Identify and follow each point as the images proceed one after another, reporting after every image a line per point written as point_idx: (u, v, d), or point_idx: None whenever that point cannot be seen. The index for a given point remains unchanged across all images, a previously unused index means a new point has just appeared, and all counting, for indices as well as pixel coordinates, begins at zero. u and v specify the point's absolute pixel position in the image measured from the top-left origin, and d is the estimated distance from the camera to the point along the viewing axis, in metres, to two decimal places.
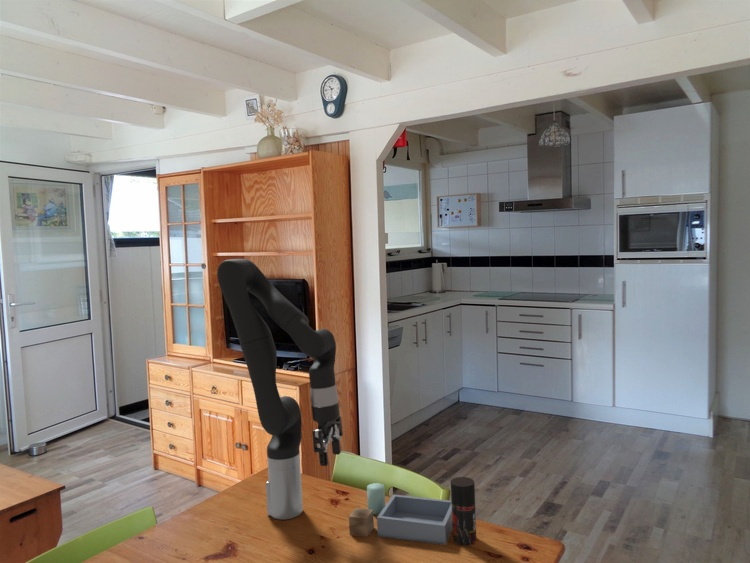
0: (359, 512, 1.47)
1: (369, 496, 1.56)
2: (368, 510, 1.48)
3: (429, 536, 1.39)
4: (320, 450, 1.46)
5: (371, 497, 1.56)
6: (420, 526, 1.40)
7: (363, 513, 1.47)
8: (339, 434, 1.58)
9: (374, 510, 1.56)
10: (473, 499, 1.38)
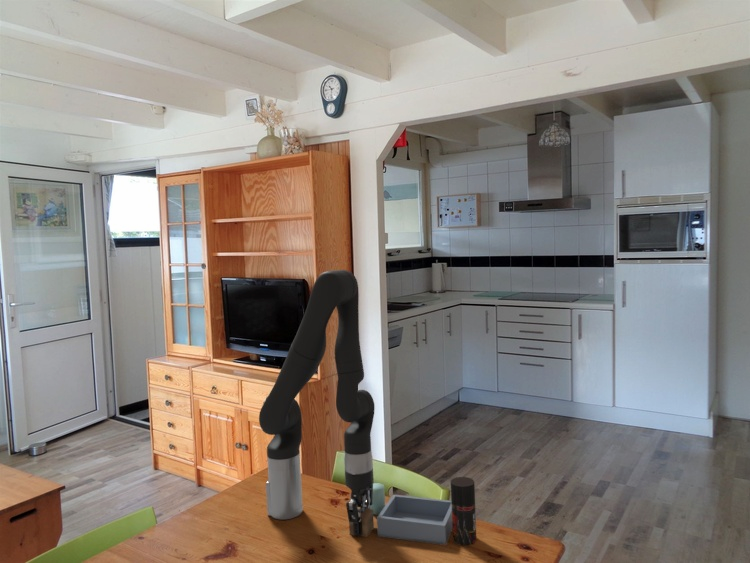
0: None
1: None
2: (368, 510, 1.48)
3: (429, 536, 1.39)
4: (355, 521, 1.41)
5: None
6: (420, 526, 1.40)
7: (363, 512, 1.47)
8: (369, 503, 1.50)
9: (374, 510, 1.56)
10: (473, 499, 1.38)
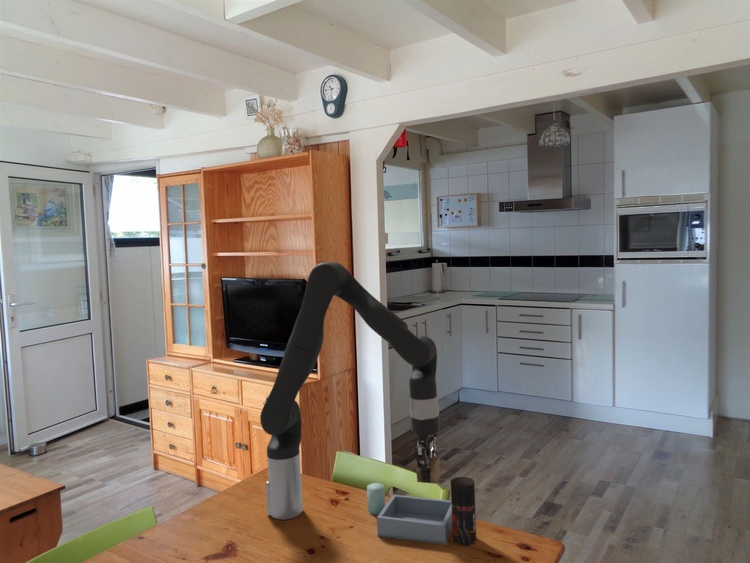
0: None
1: (369, 496, 1.56)
2: (434, 458, 1.46)
3: (429, 536, 1.39)
4: (424, 466, 1.39)
5: (371, 497, 1.56)
6: (420, 526, 1.40)
7: None
8: None
9: (374, 510, 1.56)
10: (473, 499, 1.38)
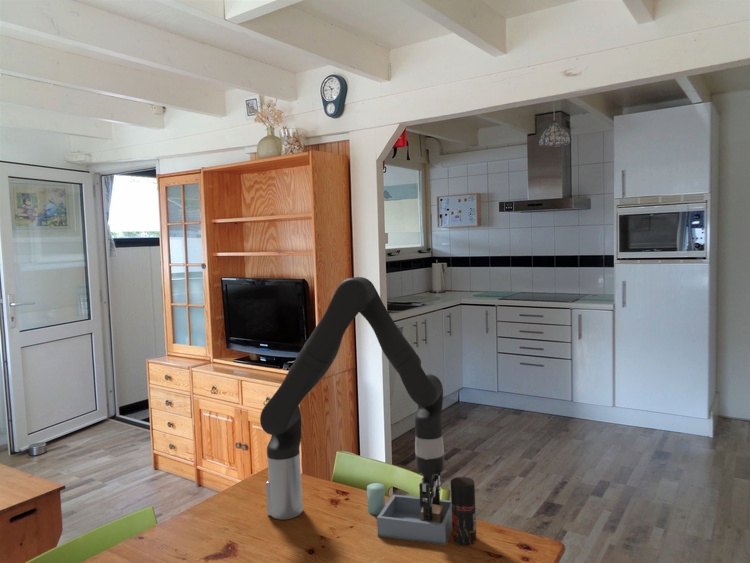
0: None
1: (369, 496, 1.56)
2: (438, 506, 1.47)
3: (429, 536, 1.39)
4: (427, 505, 1.39)
5: (371, 497, 1.56)
6: (420, 526, 1.40)
7: (434, 508, 1.46)
8: None
9: (374, 510, 1.56)
10: (473, 499, 1.38)
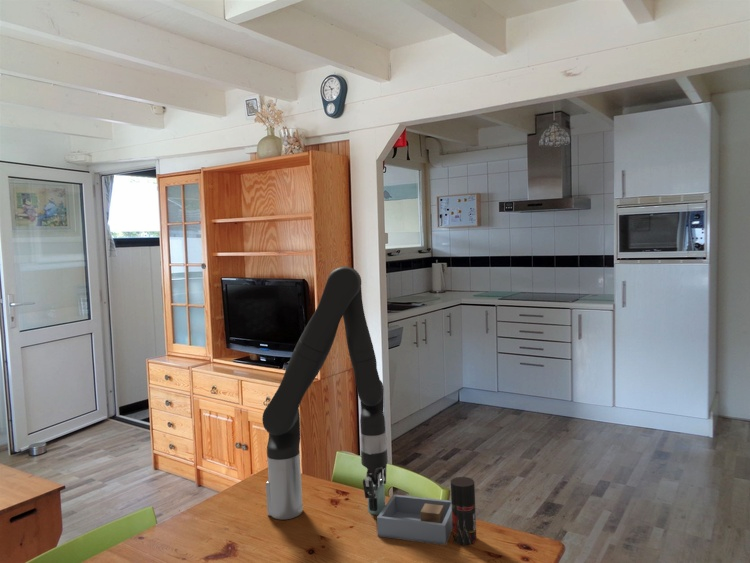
0: (430, 507, 1.46)
1: None
2: (438, 506, 1.47)
3: (429, 536, 1.39)
4: (371, 497, 1.52)
5: None
6: (420, 526, 1.40)
7: (434, 508, 1.46)
8: None
9: None
10: (473, 499, 1.38)
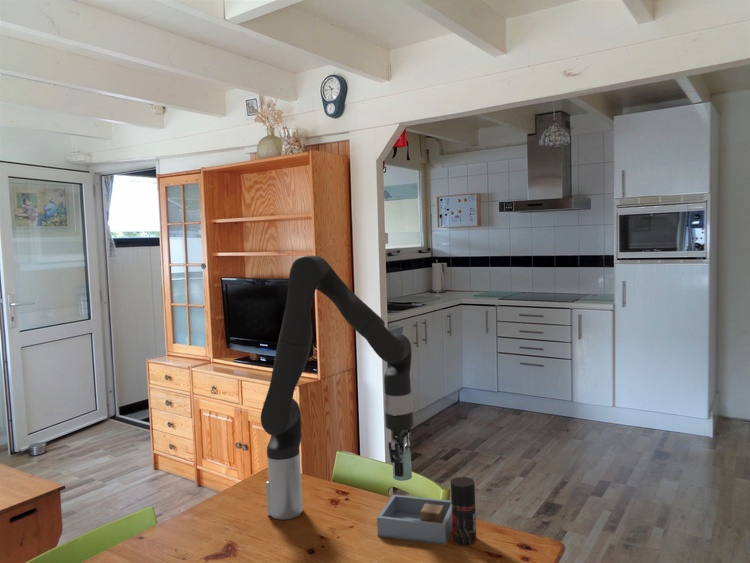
0: (430, 507, 1.46)
1: None
2: (438, 506, 1.47)
3: (429, 536, 1.39)
4: (397, 461, 1.42)
5: None
6: (420, 526, 1.40)
7: (434, 508, 1.46)
8: None
9: None
10: (473, 499, 1.38)
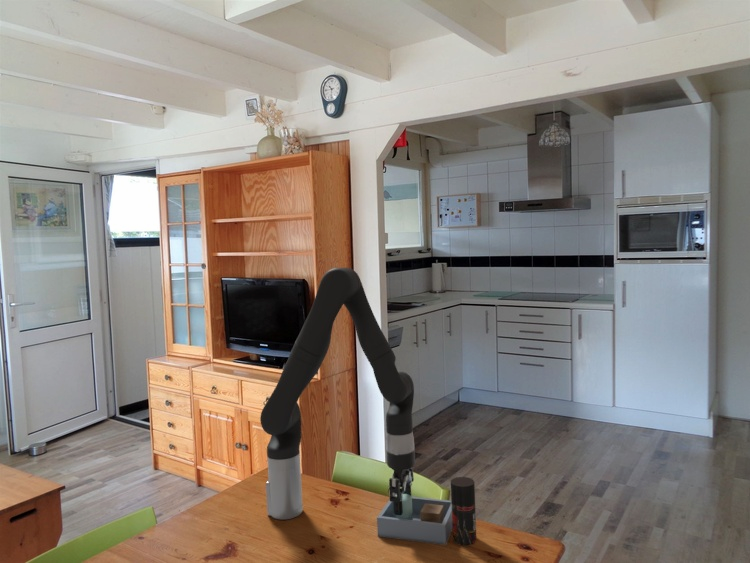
0: (430, 507, 1.46)
1: None
2: (438, 506, 1.47)
3: (429, 536, 1.39)
4: (397, 500, 1.41)
5: None
6: (420, 526, 1.40)
7: (434, 508, 1.46)
8: None
9: None
10: (473, 499, 1.38)
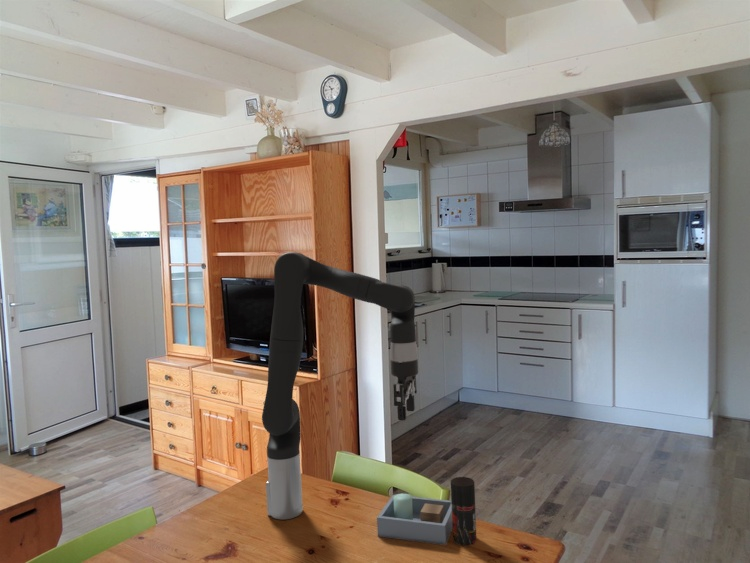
0: (430, 507, 1.46)
1: (396, 507, 1.47)
2: (438, 506, 1.47)
3: (429, 536, 1.39)
4: (401, 404, 1.47)
5: (399, 508, 1.46)
6: (420, 526, 1.40)
7: (434, 508, 1.46)
8: None
9: None
10: (473, 499, 1.38)
